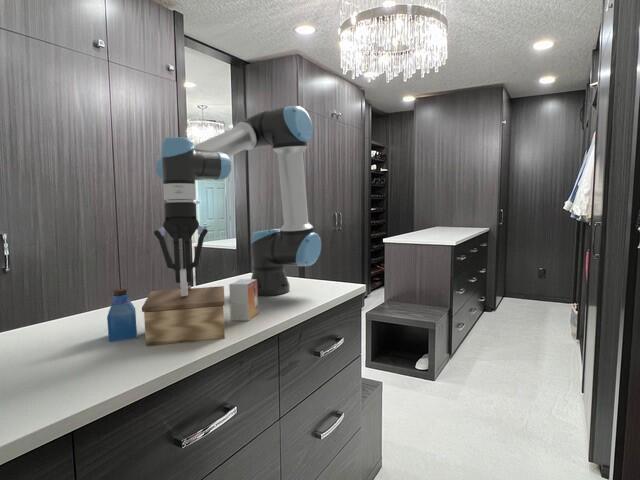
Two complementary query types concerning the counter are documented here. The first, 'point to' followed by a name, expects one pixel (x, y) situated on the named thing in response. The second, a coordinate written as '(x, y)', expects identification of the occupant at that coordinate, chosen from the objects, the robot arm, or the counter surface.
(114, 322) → the perfume bottle
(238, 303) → the small box
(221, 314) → the box
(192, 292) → the lid
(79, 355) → the counter surface
